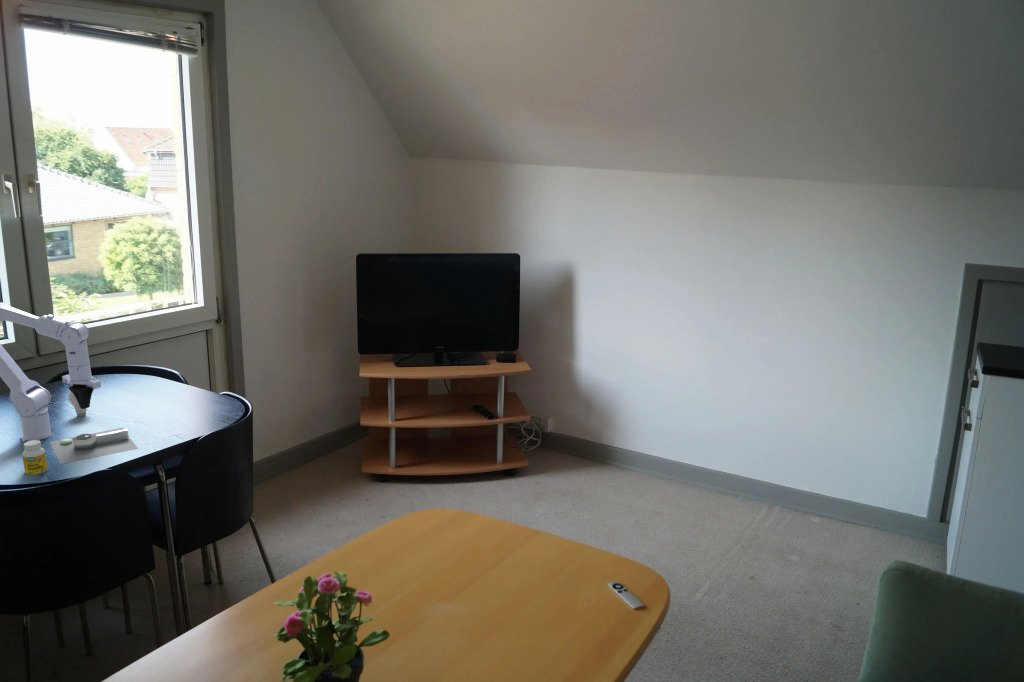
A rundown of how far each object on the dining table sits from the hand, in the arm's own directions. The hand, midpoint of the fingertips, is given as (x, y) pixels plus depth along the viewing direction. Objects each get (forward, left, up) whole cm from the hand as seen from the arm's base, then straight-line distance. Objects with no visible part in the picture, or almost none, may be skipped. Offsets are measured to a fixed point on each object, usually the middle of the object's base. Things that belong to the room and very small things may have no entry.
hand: (85, 407), depth 238 cm
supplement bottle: (+20, -16, -11) cm, 28 cm away
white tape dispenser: (+9, +2, -9) cm, 13 cm away
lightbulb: (-20, +2, -11) cm, 23 cm away
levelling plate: (+9, 0, -10) cm, 14 cm away
